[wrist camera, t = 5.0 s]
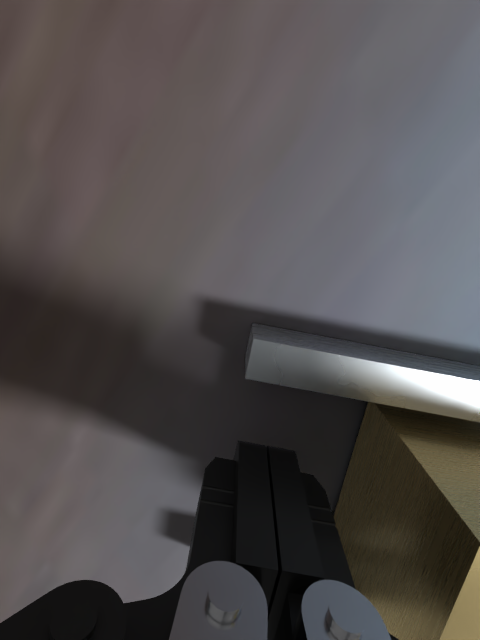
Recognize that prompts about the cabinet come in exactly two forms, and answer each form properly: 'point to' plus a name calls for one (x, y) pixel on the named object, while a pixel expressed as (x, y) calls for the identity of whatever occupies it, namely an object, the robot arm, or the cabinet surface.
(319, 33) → the cabinet surface
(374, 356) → the grey open frame tray
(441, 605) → the tan gold cube
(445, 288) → the cabinet surface
